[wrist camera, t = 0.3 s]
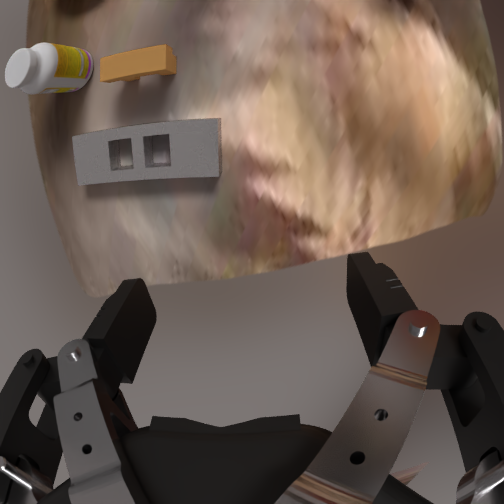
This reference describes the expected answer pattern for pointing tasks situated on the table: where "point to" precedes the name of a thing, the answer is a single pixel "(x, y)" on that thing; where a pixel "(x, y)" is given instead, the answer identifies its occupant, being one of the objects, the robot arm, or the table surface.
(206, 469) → the robot arm
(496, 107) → the table surface
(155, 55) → the ochre wooden block
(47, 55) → the supplement bottle
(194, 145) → the rail
